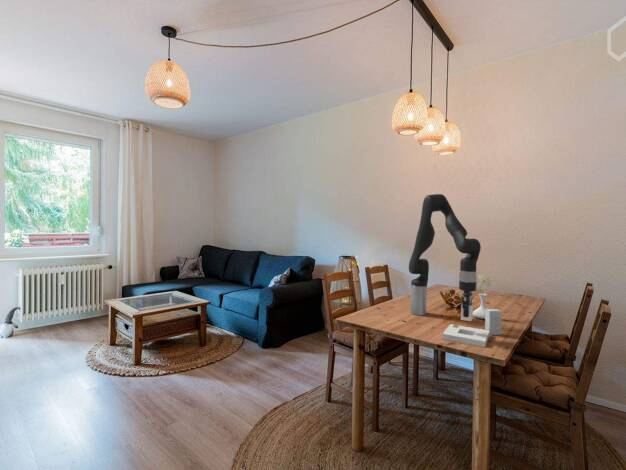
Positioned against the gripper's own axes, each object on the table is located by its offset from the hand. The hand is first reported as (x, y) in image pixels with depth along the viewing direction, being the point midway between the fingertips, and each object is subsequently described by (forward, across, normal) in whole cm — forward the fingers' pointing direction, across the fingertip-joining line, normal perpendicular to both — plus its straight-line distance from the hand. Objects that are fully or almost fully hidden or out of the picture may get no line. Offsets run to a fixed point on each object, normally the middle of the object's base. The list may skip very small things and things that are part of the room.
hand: (466, 315), depth 160 cm
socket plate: (+11, 0, 0) cm, 11 cm away
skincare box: (+11, -14, +10) cm, 20 cm away
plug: (+2, 0, 0) cm, 2 cm away
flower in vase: (+11, -43, +2) cm, 44 cm away
